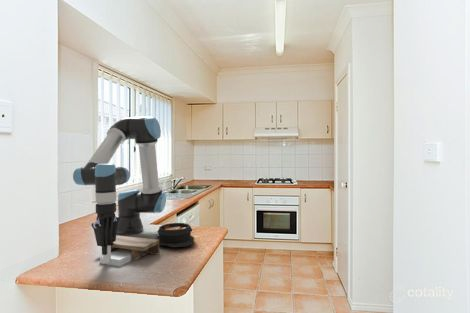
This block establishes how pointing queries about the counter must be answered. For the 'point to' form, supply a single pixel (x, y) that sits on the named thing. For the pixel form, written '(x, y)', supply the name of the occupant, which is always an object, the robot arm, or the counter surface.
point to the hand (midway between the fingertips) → (107, 261)
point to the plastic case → (119, 257)
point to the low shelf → (136, 245)
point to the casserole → (175, 235)
